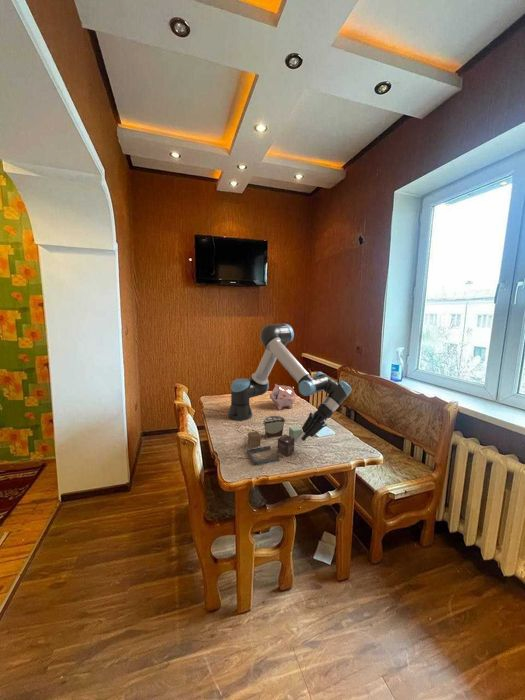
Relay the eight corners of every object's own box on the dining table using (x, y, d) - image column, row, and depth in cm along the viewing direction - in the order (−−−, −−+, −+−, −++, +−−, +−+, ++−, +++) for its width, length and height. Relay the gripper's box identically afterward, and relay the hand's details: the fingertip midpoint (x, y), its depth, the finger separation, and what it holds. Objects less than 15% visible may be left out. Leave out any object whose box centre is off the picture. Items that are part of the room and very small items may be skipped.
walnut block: (247, 443, 142) (248, 432, 141) (257, 441, 143) (257, 430, 142) (251, 447, 137) (251, 436, 136) (260, 446, 139) (260, 435, 138)
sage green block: (288, 437, 149) (289, 427, 148) (297, 436, 151) (297, 425, 150) (293, 441, 144) (293, 430, 144) (301, 440, 146) (302, 429, 145)
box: (284, 448, 138) (284, 434, 137) (294, 452, 134) (294, 438, 133) (276, 452, 133) (277, 438, 132) (287, 457, 129) (287, 442, 128)
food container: (279, 431, 156) (280, 414, 155) (284, 435, 151) (285, 418, 149) (259, 434, 152) (260, 416, 150) (263, 439, 146) (264, 421, 145)
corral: (246, 452, 132) (246, 449, 132) (269, 448, 137) (269, 445, 136) (254, 465, 122) (254, 462, 121) (279, 460, 126) (279, 457, 126)
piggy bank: (266, 403, 200) (267, 382, 197) (290, 402, 205) (290, 381, 202) (273, 411, 185) (273, 388, 183) (298, 409, 190) (299, 387, 188)
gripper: (339, 416, 134) (308, 454, 130) (324, 407, 146) (295, 442, 142) (331, 407, 131) (298, 446, 127) (316, 399, 143) (286, 434, 139)
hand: (296, 444), depth 135 cm, fingers closed
